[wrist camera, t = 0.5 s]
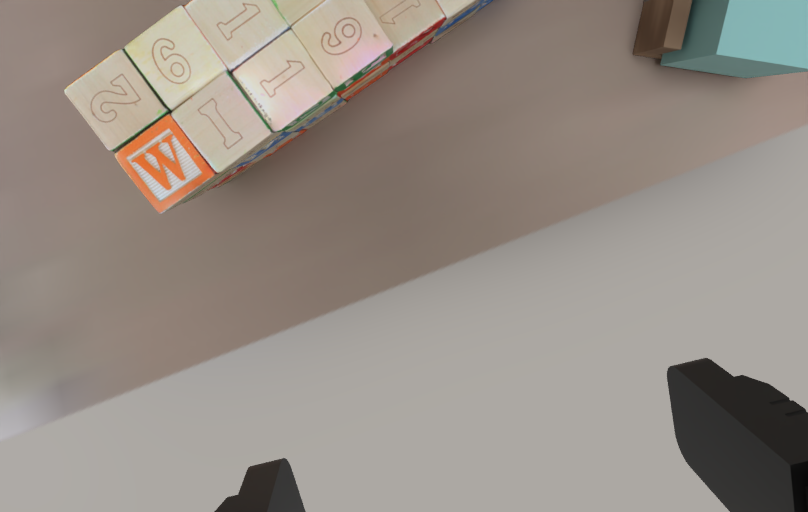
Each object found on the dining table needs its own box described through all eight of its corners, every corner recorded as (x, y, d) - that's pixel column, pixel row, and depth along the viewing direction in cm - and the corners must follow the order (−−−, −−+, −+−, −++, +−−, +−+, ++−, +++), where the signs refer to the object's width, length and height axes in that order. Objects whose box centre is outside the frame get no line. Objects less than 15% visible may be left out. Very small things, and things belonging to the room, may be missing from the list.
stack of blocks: (461, -114, 34) (507, -242, 22) (517, -15, 35) (589, -84, 23) (164, 99, 36) (55, 89, 24) (227, 185, 37) (155, 217, 25)
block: (688, -62, 34) (753, -100, 28) (777, -47, 34) (859, -81, 28) (660, 65, 35) (716, 54, 29) (745, 78, 36) (817, 70, 30)
